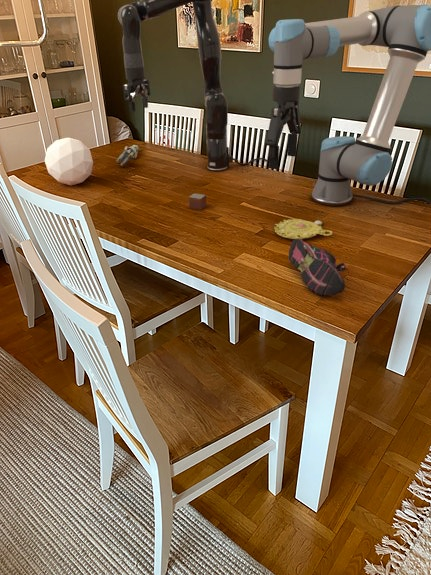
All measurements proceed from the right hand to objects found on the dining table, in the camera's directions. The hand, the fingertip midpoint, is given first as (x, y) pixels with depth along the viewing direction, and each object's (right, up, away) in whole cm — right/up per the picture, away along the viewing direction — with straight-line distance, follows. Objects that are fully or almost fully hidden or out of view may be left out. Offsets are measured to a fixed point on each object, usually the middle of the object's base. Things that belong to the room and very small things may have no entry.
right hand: (282, 162), depth 133 cm
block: (-27, -7, +35) cm, 44 cm away
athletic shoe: (+9, -35, -11) cm, 38 cm away
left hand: (-52, +35, +49) cm, 79 cm away
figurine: (-64, +27, +90) cm, 113 cm away
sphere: (-83, +8, +61) cm, 103 cm away
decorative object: (+8, -20, +13) cm, 25 cm away
